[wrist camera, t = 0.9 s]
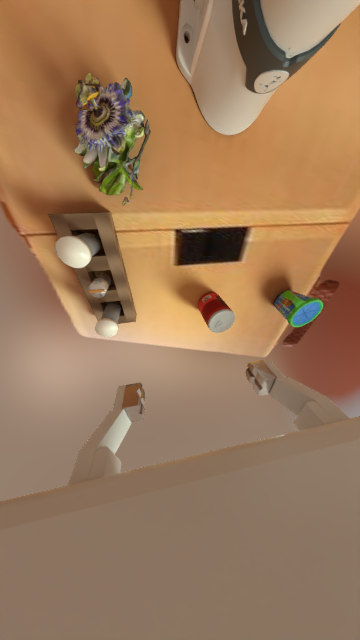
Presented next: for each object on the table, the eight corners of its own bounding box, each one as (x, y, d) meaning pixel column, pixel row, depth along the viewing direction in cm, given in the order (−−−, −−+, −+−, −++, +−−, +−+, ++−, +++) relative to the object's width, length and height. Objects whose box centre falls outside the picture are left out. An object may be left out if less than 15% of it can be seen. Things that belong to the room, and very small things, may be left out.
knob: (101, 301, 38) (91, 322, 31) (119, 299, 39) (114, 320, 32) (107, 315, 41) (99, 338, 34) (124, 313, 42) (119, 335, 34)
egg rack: (58, 213, 29) (47, 214, 26) (110, 212, 30) (106, 212, 27) (103, 318, 45) (100, 326, 42) (136, 313, 46) (135, 321, 43)
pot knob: (94, 274, 34) (85, 284, 29) (108, 272, 34) (102, 283, 29) (99, 286, 36) (91, 299, 31) (112, 285, 36) (107, 297, 31)
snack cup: (300, 302, 57) (325, 317, 49) (275, 319, 60) (295, 335, 52) (292, 275, 48) (321, 287, 40) (263, 295, 51) (285, 310, 43)
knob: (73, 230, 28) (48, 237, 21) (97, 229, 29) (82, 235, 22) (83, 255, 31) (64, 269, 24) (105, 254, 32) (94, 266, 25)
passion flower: (109, 137, 28) (112, 28, 17) (152, 191, 32) (176, 131, 21) (65, 168, 25) (36, 61, 14) (119, 223, 29) (127, 171, 19)
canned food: (194, 310, 50) (204, 331, 41) (202, 289, 45) (215, 308, 37) (213, 313, 52) (227, 333, 43) (223, 293, 48) (240, 312, 39)
